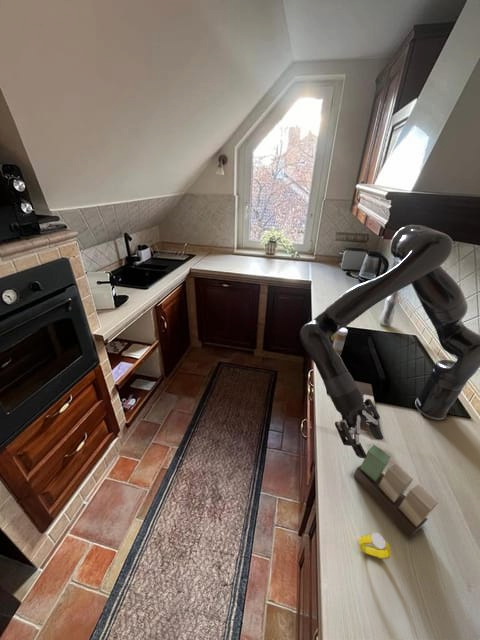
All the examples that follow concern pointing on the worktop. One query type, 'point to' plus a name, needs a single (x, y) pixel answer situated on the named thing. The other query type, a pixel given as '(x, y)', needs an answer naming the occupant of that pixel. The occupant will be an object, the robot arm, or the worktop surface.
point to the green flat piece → (375, 462)
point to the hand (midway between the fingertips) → (371, 447)
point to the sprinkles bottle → (340, 340)
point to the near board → (366, 392)
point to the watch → (377, 543)
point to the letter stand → (399, 498)
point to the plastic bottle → (389, 309)
